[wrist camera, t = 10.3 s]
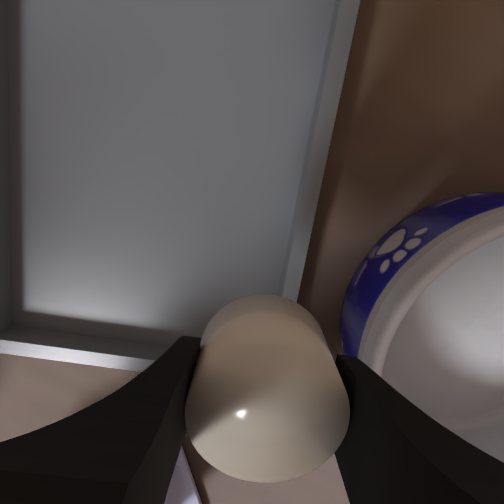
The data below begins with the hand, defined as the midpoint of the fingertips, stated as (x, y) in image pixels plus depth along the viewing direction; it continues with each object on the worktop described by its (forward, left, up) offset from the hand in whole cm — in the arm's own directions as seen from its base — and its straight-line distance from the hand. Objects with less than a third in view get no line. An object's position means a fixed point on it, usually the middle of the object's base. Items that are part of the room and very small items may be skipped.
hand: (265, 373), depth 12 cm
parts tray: (-3, +8, -9) cm, 13 cm away
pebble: (0, 0, -1) cm, 1 cm away
